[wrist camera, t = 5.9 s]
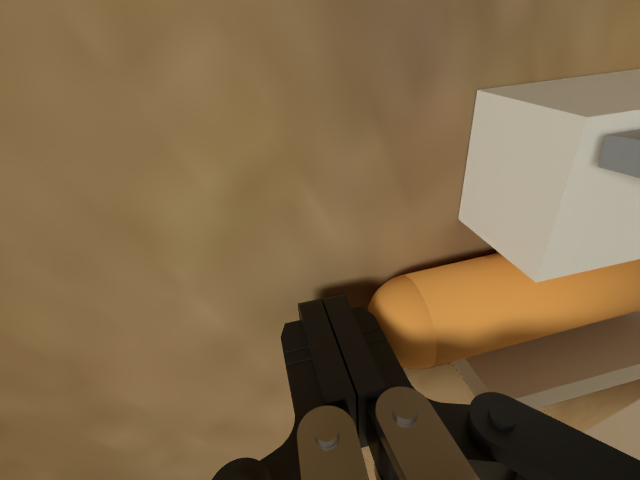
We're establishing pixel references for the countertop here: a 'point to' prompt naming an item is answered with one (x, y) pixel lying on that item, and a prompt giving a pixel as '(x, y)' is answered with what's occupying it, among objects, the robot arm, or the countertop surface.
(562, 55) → the countertop surface
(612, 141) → the cover
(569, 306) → the rod
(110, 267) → the countertop surface
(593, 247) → the white open tray
